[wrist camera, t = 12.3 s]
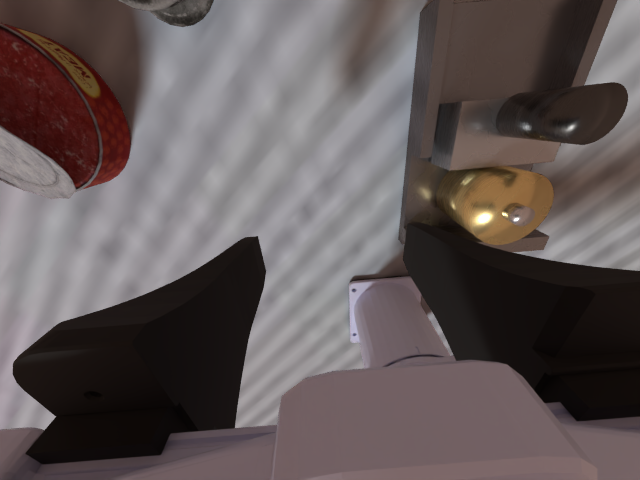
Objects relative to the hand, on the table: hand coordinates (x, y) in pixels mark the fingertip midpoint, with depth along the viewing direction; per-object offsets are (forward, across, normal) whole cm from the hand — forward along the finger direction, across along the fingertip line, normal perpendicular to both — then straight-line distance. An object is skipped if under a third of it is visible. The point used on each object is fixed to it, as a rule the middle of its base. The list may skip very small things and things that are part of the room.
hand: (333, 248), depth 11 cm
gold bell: (+9, -12, +1) cm, 15 cm away
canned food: (+10, +19, -7) cm, 23 cm away
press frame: (+10, -12, -2) cm, 16 cm away
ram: (+9, -12, -4) cm, 15 cm away
